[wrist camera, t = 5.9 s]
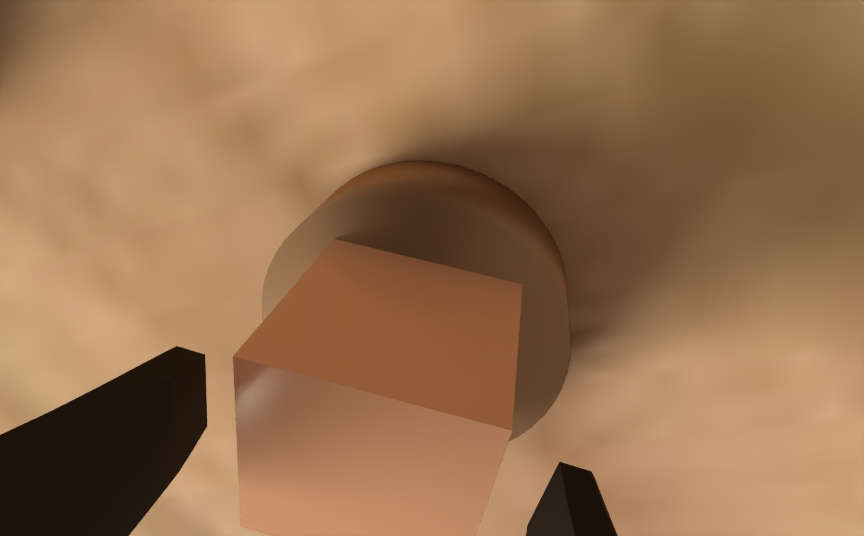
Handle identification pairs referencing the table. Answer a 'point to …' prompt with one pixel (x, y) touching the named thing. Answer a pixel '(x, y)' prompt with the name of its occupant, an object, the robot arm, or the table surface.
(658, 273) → the table surface
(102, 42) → the table surface
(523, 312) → the pedestal
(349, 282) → the cube
